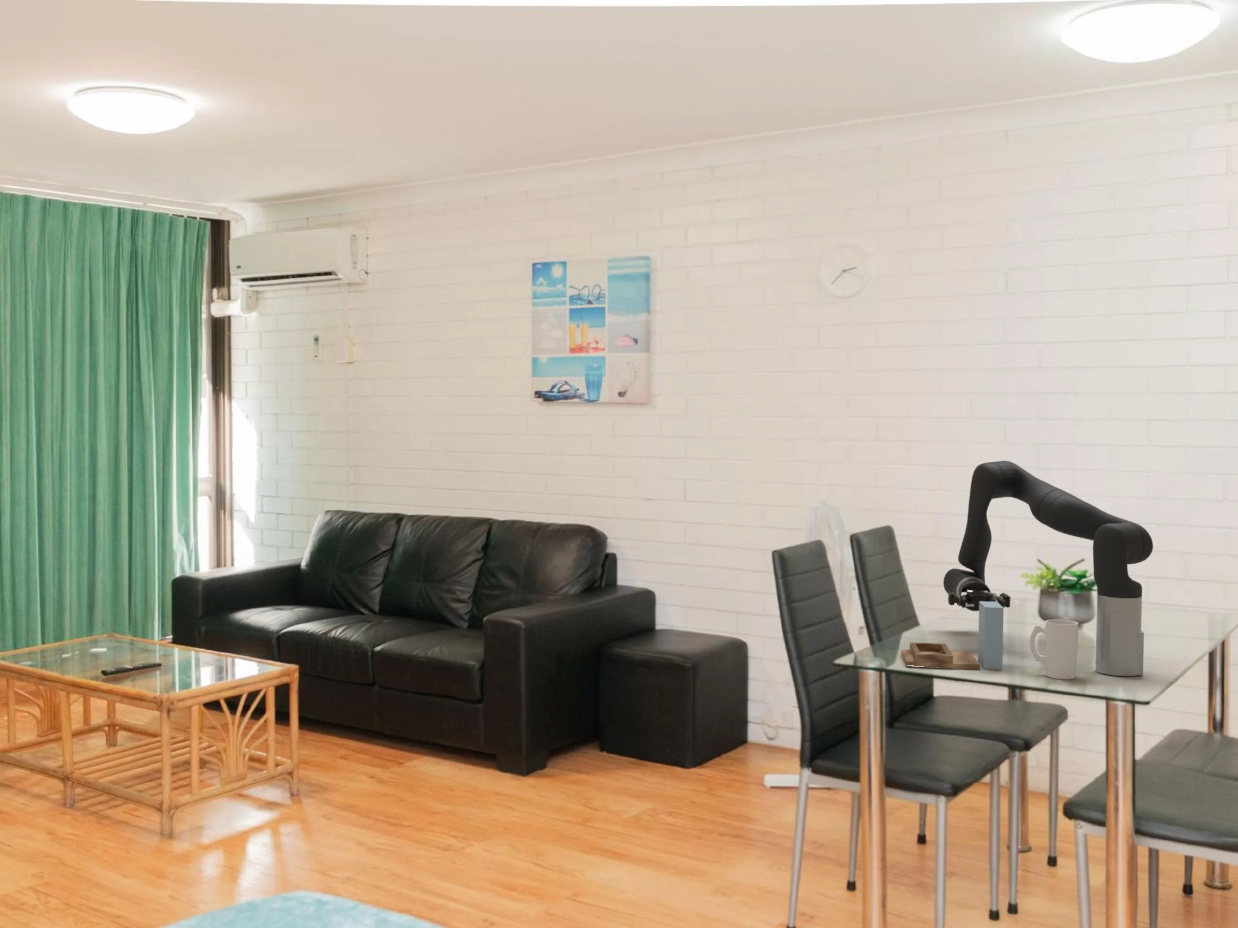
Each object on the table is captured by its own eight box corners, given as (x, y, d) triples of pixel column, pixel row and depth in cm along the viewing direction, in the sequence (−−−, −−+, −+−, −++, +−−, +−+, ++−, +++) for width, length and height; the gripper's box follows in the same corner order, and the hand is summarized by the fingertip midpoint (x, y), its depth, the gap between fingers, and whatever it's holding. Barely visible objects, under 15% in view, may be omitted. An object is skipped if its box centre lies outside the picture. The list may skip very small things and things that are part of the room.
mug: (1079, 675, 268) (1080, 621, 267) (1074, 681, 262) (1075, 625, 262) (1032, 670, 273) (1033, 617, 272) (1026, 675, 267) (1027, 621, 267)
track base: (970, 656, 288) (970, 644, 288) (979, 669, 273) (980, 656, 273) (901, 654, 290) (901, 641, 290) (906, 667, 275) (906, 653, 275)
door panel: (995, 661, 282) (997, 601, 282) (1002, 669, 273) (1003, 607, 273) (978, 661, 283) (979, 601, 282) (983, 669, 274) (985, 607, 273)
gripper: (944, 577, 306) (952, 587, 290) (1003, 579, 304) (1014, 589, 288) (943, 607, 306) (951, 618, 290) (1002, 609, 304) (1013, 621, 288)
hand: (982, 604), depth 289 cm, fingers open, 8 cm apart
